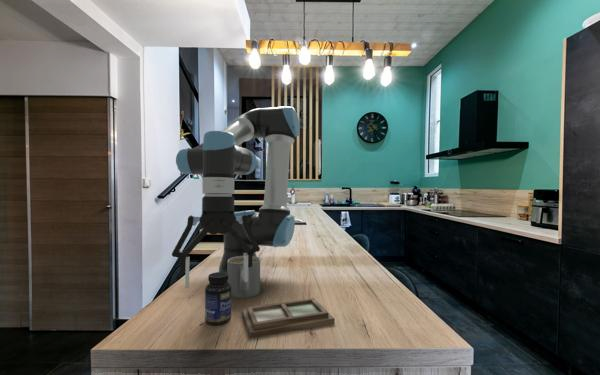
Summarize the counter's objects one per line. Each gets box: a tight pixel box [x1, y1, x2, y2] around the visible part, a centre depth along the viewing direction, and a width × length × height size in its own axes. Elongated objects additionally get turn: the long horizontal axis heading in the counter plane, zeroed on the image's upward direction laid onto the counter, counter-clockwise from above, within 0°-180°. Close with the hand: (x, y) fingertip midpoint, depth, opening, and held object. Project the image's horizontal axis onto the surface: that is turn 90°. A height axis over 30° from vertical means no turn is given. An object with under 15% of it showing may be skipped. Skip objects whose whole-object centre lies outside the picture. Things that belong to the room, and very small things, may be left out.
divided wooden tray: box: [242, 297, 335, 339], centre depth 70 cm, size 12×20×2 cm, turn 109°
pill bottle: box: [204, 271, 232, 326], centre depth 69 cm, size 6×6×11 cm
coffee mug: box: [227, 255, 261, 299], centre depth 86 cm, size 13×10×10 cm
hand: (217, 283), depth 68 cm, fingers open, 13 cm apart
